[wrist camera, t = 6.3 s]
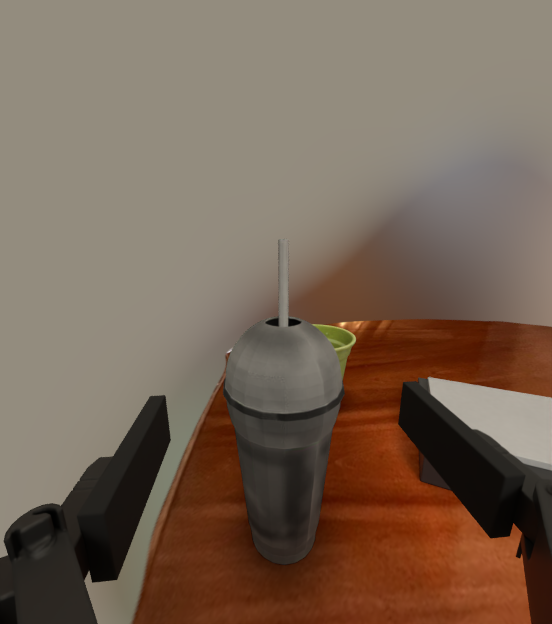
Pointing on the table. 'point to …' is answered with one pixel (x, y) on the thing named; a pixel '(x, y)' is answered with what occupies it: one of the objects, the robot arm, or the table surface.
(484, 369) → the table surface
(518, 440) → the scale
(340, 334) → the plant pot
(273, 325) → the beverage cup
